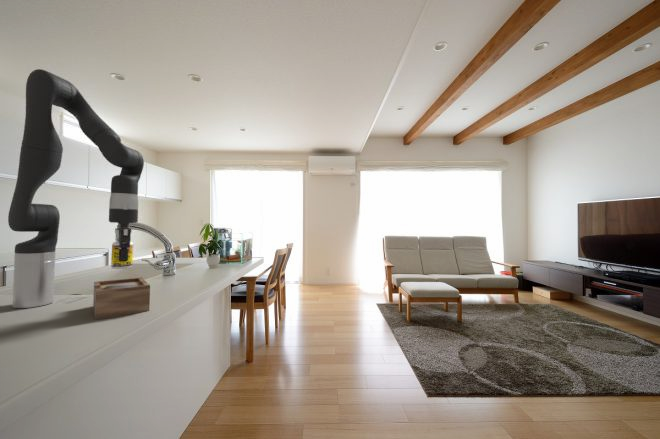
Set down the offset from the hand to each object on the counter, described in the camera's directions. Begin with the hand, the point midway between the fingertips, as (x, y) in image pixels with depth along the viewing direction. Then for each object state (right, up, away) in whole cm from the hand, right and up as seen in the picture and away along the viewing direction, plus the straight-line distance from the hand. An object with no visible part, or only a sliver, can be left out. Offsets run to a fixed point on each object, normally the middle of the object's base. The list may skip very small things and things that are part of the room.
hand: (122, 260), depth 88 cm
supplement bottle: (0, -3, 0) cm, 3 cm away
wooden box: (0, -16, 0) cm, 16 cm away
